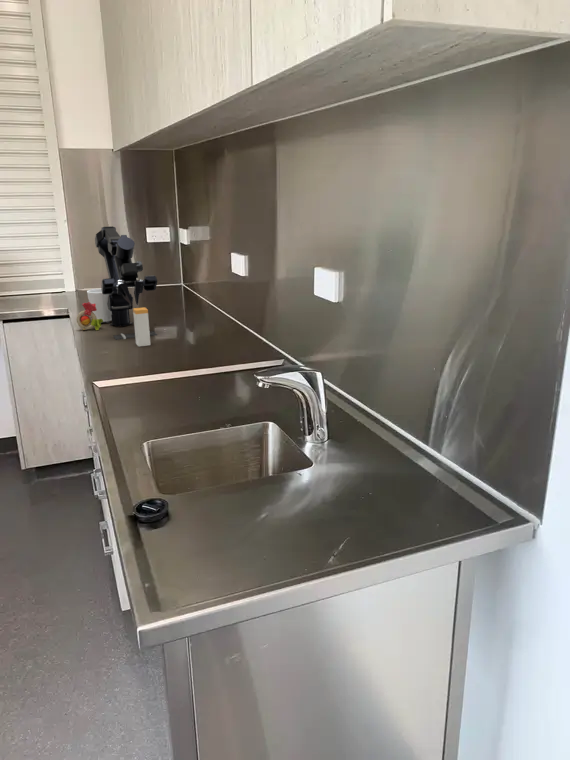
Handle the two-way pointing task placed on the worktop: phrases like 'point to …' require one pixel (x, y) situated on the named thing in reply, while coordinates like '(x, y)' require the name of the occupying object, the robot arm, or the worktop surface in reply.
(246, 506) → the worktop surface
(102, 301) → the cup
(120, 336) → the cord bundle
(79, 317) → the bird rattle
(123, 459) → the worktop surface
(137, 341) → the orange-topped grey block
